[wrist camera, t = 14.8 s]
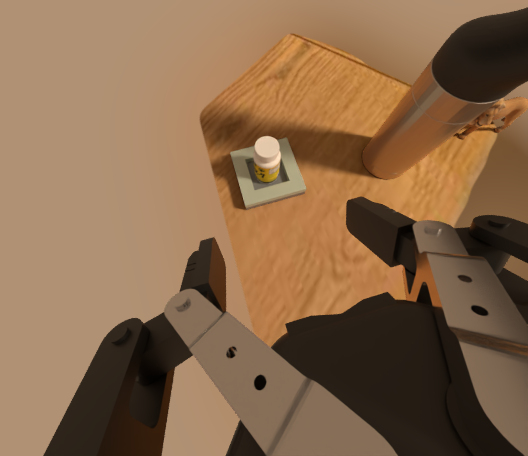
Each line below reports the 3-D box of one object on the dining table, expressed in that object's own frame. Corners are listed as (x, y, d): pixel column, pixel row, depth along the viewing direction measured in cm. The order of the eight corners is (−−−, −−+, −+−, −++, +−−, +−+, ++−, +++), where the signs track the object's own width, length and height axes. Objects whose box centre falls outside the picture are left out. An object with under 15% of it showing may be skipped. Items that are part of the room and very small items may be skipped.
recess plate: (232, 158, 40) (230, 152, 38) (285, 144, 40) (286, 137, 38) (246, 209, 37) (245, 205, 35) (304, 193, 38) (306, 188, 35)
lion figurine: (448, 150, 39) (500, 114, 31) (435, 130, 41) (480, 90, 32) (508, 130, 40) (575, 89, 32) (493, 111, 42) (553, 67, 33)
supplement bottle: (250, 171, 38) (245, 143, 30) (269, 159, 38) (270, 128, 30) (264, 189, 37) (263, 164, 29) (283, 176, 37) (288, 149, 29)
